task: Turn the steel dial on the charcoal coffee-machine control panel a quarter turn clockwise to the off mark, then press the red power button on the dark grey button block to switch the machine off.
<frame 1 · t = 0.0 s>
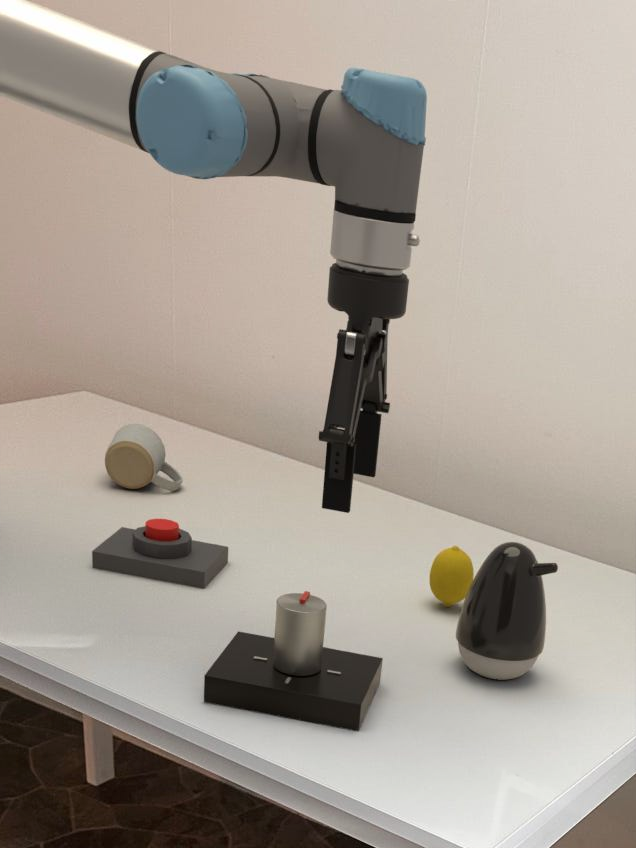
hand: (349, 491, 123), 19 cm above the table, tool pointing down, fingers open, 13 cm apart
button block: (162, 565, 148), on the table
ceramic mug: (144, 485, 174), on the table
dial: (299, 633, 121), point 7 cm above the table, hinge at 90.0°
lemon: (447, 608, 152), on the table
dial panel: (295, 692, 125), on the table
power button: (162, 530, 146), point 4 cm above the table, slide at 0.1 cm
pump dispenser: (495, 672, 137), on the table
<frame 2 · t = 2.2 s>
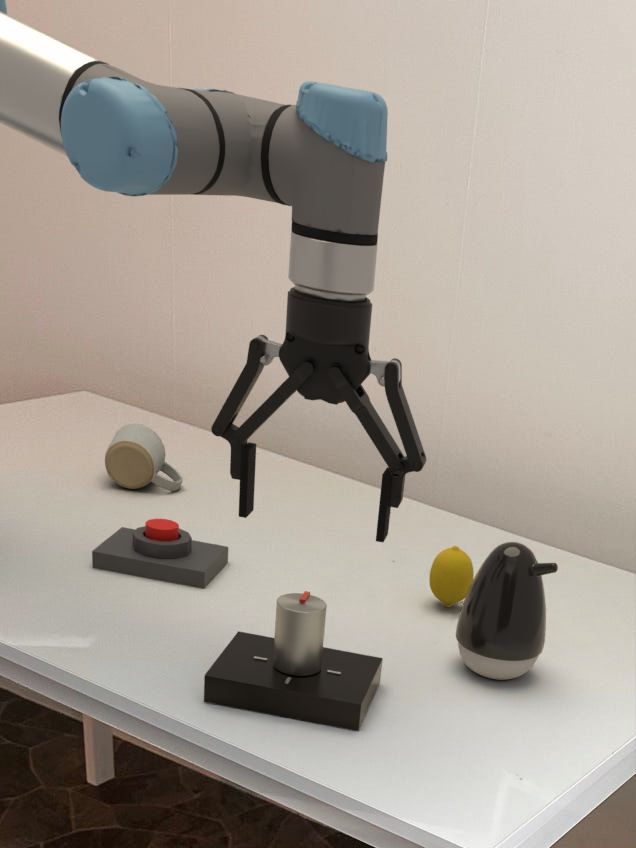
hand: (313, 526, 116), 18 cm above the table, tool pointing down, fingers open, 13 cm apart
nothing on the table moved.
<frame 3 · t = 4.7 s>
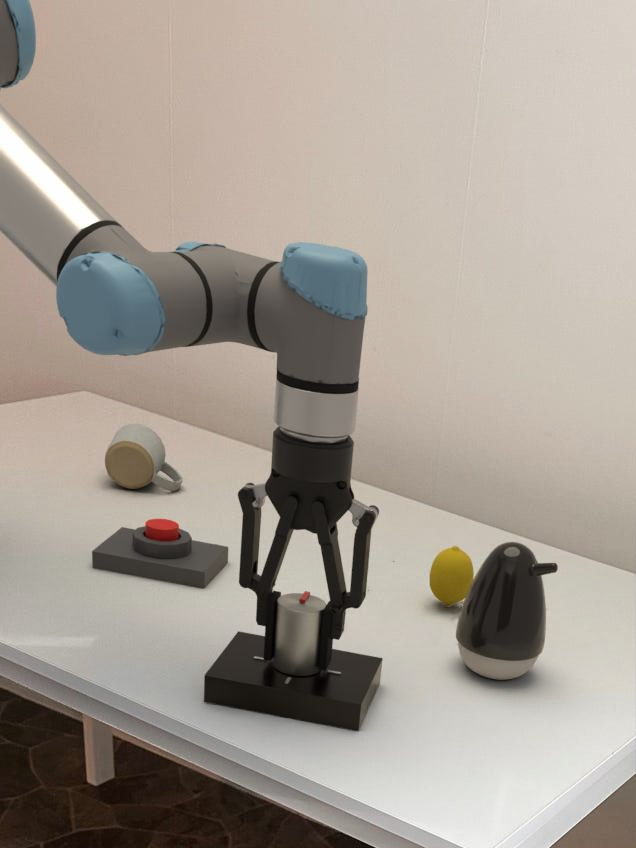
hand: (297, 659, 123), 4 cm above the table, tool pointing down, fingers closed on dial, 5 cm apart
dial: (299, 633, 121), point 7 cm above the table, hinge at 90.0°, touching gripper
everything else where it was.
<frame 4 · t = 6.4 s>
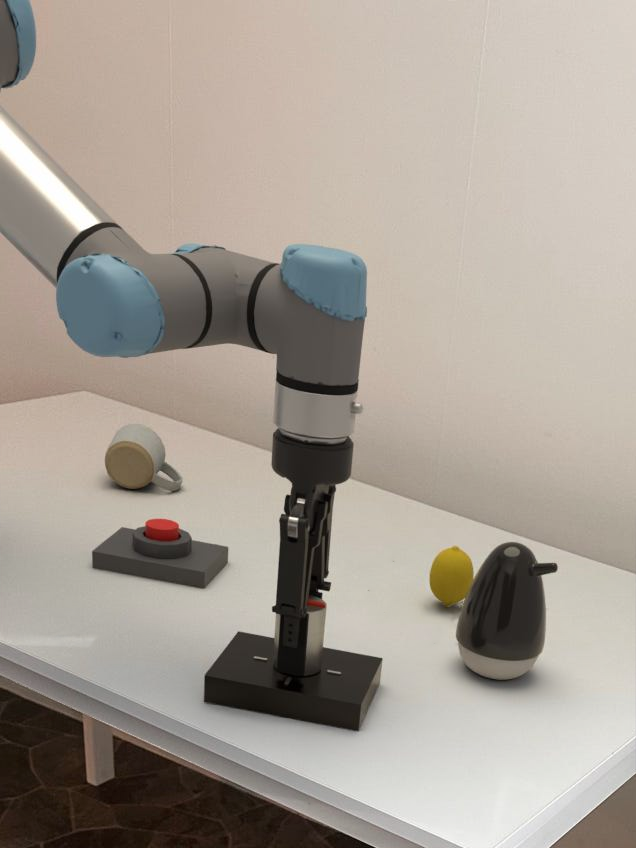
hand: (297, 660, 123), 4 cm above the table, tool pointing down, fingers open, 5 cm apart
dial: (299, 633, 121), point 7 cm above the table, hinge at 0.2°
everything else where it was.
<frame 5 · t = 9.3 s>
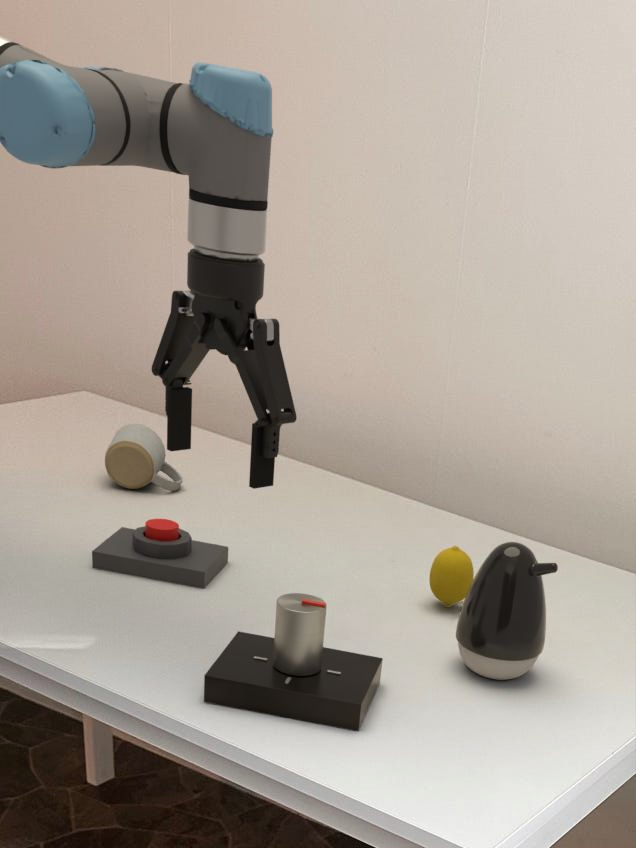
hand: (219, 467, 128), 17 cm above the table, tool pointing down, fingers open, 13 cm apart
nothing on the table moved.
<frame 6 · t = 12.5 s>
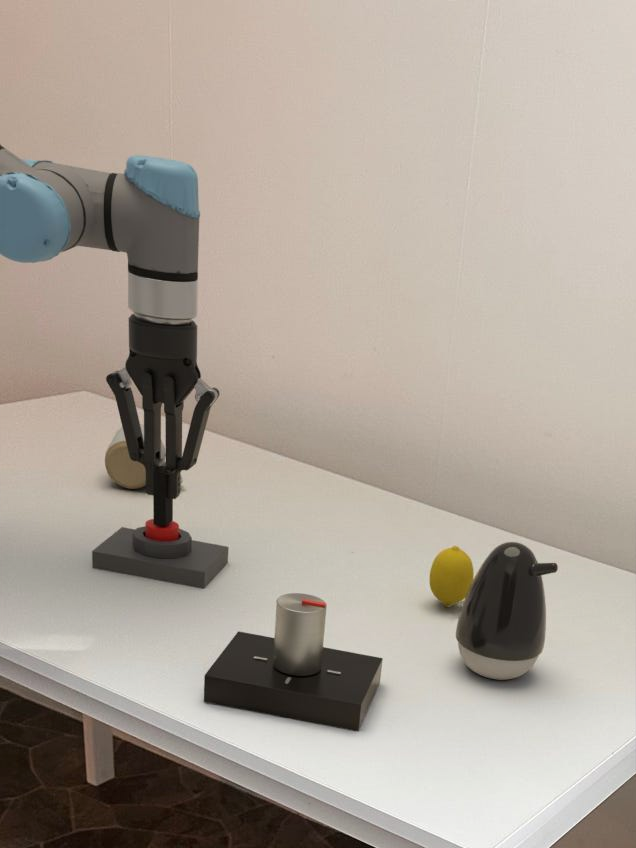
hand: (163, 522, 145), 6 cm above the table, tool pointing down, fingers closed
power button: (162, 531, 146), point 4 cm above the table, slide at 0.1 cm, touching gripper
everything else where it was.
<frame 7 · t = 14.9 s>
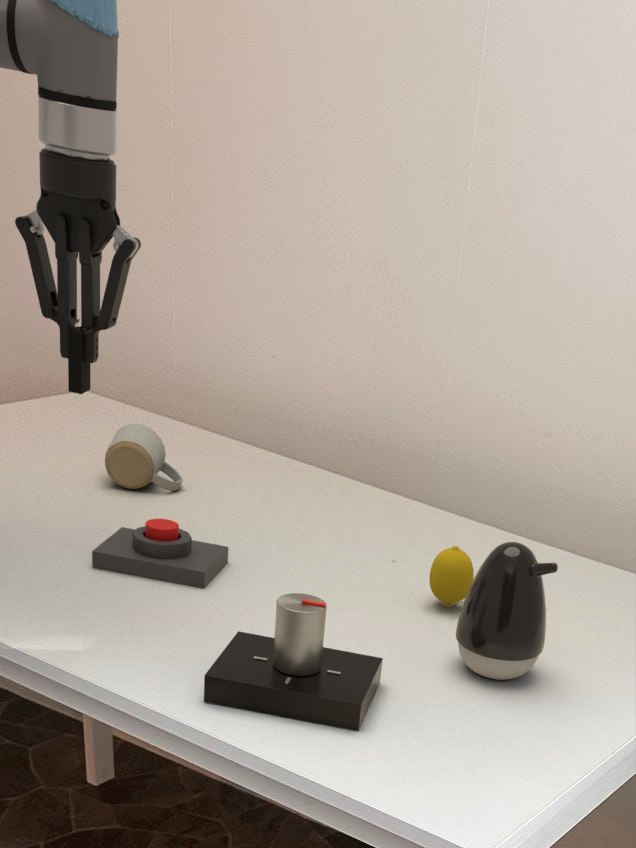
hand: (79, 390, 134), 21 cm above the table, tool pointing down, fingers closed
power button: (162, 530, 146), point 4 cm above the table, slide at 0.1 cm
everything else where it was.
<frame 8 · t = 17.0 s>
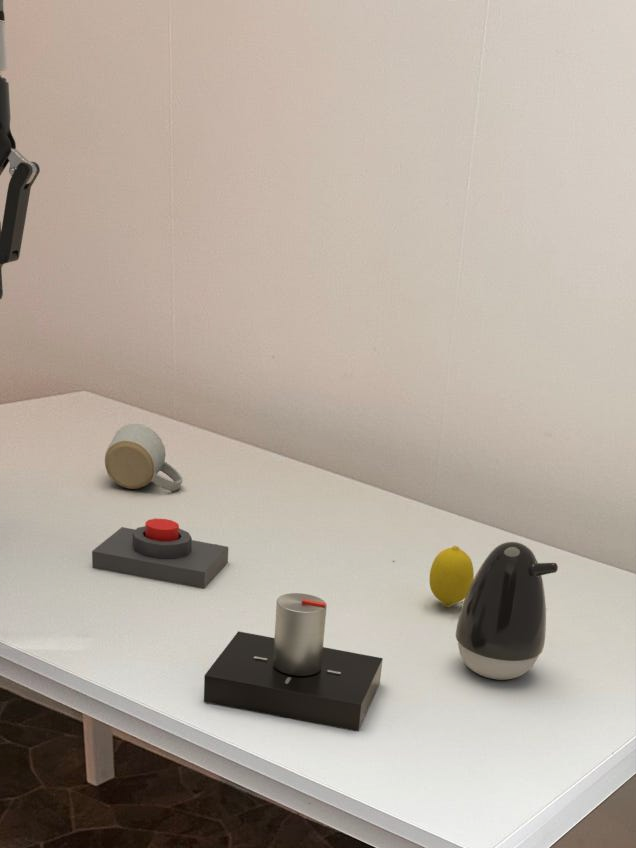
nothing on the table moved.
at the end: dial at +0° (first picture: +90°); power button pushed in 1.0 cm at the most during the clip, back to where it started at the end; power button slide at 0.1 cm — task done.
